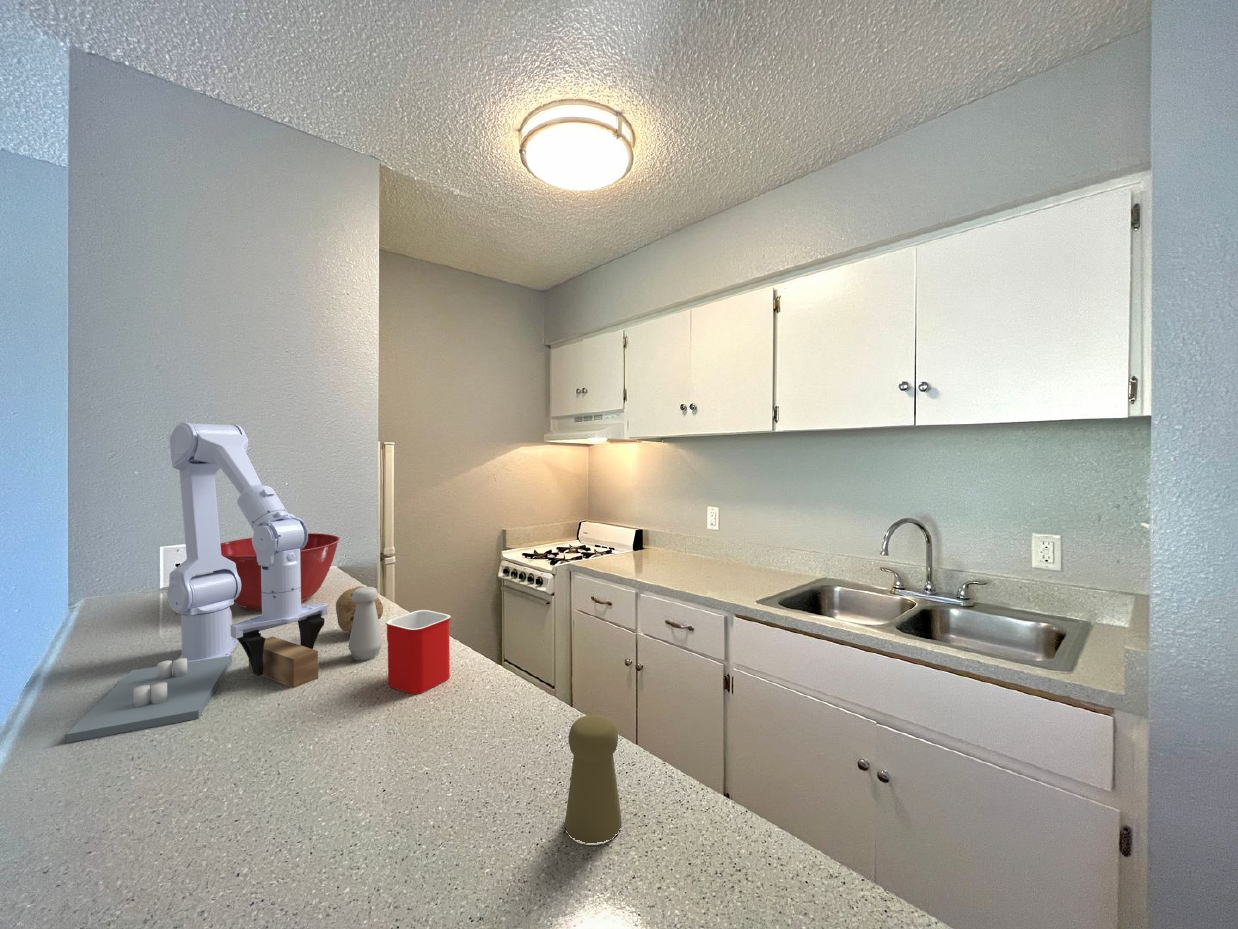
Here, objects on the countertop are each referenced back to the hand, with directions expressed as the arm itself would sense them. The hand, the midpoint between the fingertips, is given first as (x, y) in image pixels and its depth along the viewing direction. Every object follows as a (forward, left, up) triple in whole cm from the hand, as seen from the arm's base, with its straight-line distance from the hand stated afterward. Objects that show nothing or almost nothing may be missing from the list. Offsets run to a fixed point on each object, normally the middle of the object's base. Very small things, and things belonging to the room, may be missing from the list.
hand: (282, 666), depth 89 cm
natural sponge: (-16, +12, -2) cm, 20 cm away
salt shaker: (-2, +13, -2) cm, 13 cm away
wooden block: (0, 0, -2) cm, 2 cm away
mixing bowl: (-50, -7, -2) cm, 51 cm away
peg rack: (+1, -16, -1) cm, 16 cm away
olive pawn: (+57, +34, -2) cm, 66 cm away
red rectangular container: (+12, +20, -2) cm, 23 cm away
